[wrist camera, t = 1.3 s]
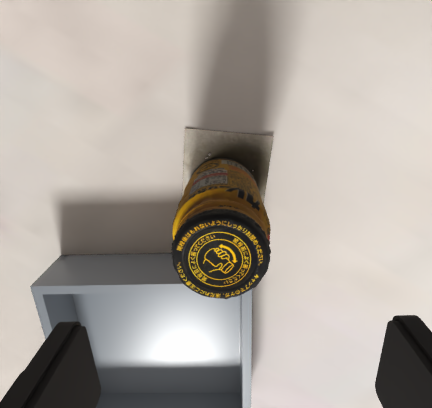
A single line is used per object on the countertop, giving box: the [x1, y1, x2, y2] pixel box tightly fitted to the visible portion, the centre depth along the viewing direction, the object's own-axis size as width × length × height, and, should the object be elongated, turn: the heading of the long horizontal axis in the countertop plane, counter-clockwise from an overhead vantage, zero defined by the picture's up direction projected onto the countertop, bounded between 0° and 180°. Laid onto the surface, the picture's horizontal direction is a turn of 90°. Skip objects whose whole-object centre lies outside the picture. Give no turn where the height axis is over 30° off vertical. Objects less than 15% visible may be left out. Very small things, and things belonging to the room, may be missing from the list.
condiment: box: [172, 128, 273, 299], centre depth 21 cm, size 7×8×12 cm
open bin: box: [30, 253, 252, 408], centre depth 30 cm, size 18×18×5 cm
